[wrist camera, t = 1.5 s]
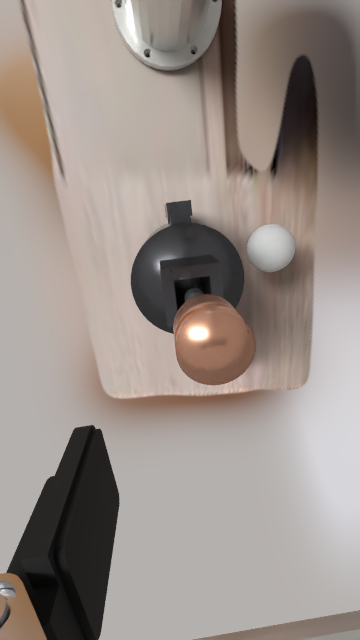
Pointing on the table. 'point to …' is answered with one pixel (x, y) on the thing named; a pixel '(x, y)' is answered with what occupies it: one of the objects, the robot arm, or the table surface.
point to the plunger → (211, 339)
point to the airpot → (183, 266)
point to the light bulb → (271, 248)
